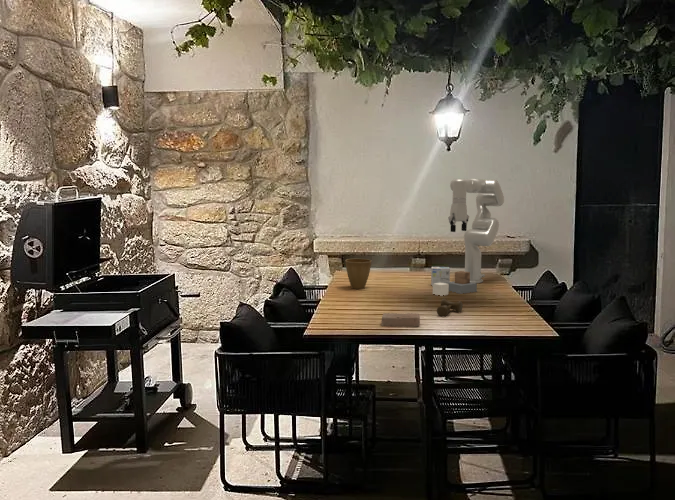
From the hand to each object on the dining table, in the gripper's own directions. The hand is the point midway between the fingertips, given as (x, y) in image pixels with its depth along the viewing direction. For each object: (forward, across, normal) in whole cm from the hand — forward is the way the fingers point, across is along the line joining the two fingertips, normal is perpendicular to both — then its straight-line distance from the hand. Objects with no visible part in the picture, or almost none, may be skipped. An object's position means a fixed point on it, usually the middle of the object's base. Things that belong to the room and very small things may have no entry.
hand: (458, 231), depth 367 cm
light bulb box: (+33, +3, -10) cm, 34 cm away
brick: (+33, +89, +41) cm, 104 cm away
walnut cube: (+28, +7, +9) cm, 30 cm away
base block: (+33, +7, +9) cm, 35 cm away
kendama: (+33, +55, +39) cm, 75 cm away
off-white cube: (+32, +24, +8) cm, 41 cm away
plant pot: (+32, +45, -35) cm, 66 cm away
